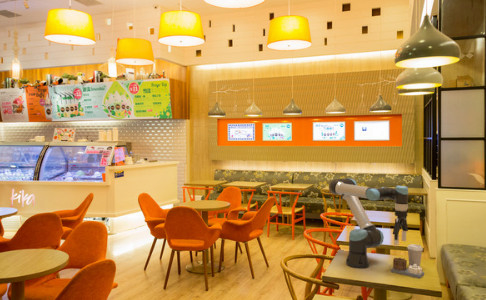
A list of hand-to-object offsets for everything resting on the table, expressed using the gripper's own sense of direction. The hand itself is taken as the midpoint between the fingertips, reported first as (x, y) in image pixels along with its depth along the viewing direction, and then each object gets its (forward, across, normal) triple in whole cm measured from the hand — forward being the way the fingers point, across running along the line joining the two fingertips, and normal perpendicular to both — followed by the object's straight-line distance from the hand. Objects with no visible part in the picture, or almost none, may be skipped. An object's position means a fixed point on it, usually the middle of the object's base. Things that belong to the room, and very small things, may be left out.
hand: (400, 242), depth 255 cm
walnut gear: (+17, 0, 0) cm, 17 cm away
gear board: (+19, 0, -5) cm, 19 cm away
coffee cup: (+19, +14, -5) cm, 24 cm away
